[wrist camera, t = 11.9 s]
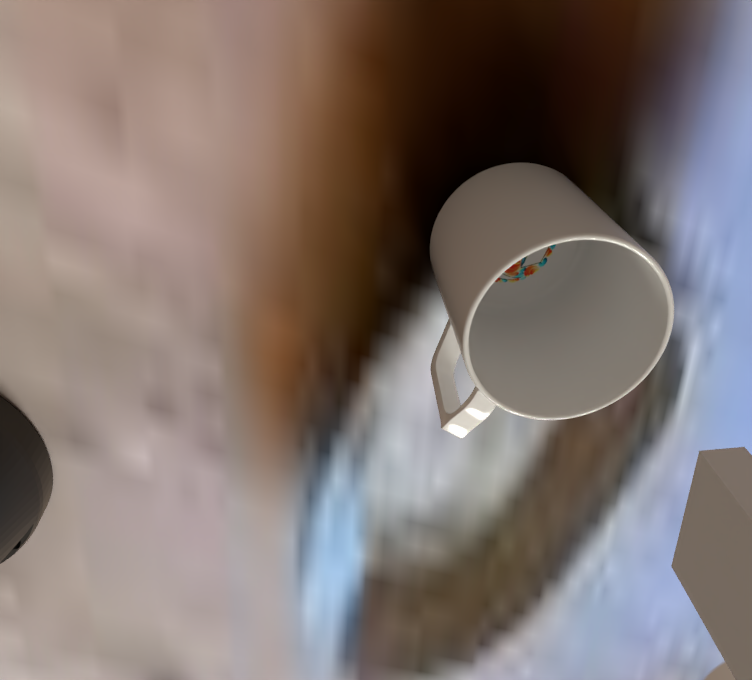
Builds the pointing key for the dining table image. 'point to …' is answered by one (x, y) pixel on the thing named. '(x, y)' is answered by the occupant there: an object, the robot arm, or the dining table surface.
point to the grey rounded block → (541, 300)
